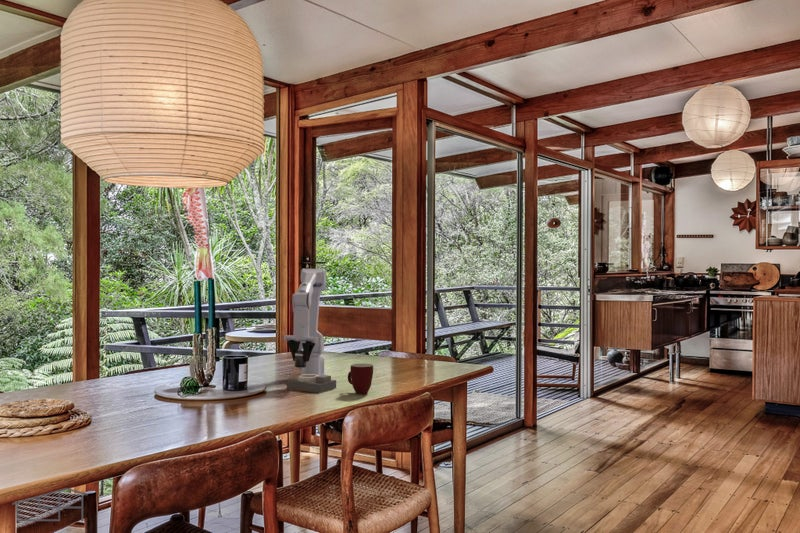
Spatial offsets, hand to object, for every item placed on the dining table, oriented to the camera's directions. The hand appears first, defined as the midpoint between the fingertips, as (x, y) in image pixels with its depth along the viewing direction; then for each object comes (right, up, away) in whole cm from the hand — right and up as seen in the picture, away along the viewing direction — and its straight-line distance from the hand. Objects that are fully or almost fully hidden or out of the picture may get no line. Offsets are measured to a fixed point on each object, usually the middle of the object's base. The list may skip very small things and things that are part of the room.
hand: (300, 361), depth 234 cm
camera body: (+4, -10, -3) cm, 11 cm away
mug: (+22, -10, -10) cm, 27 cm away
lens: (0, -2, 0) cm, 2 cm away
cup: (-37, -9, -1) cm, 38 cm away
